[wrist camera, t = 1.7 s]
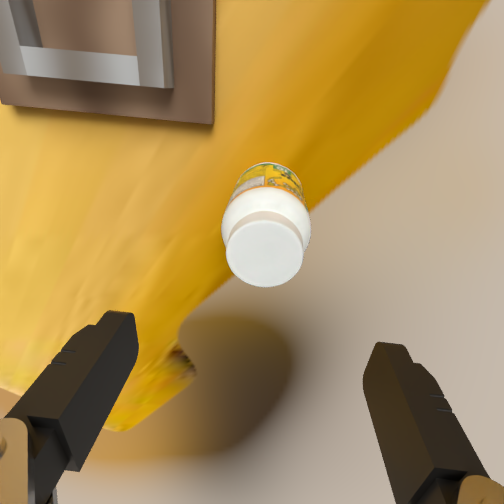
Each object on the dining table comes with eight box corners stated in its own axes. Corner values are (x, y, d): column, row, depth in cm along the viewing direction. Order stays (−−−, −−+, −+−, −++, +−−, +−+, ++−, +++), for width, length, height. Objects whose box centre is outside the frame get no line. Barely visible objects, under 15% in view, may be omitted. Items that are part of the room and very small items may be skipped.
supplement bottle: (222, 181, 23) (190, 235, 15) (283, 147, 22) (287, 185, 13) (256, 236, 25) (245, 310, 17) (314, 208, 24) (334, 275, 15)
